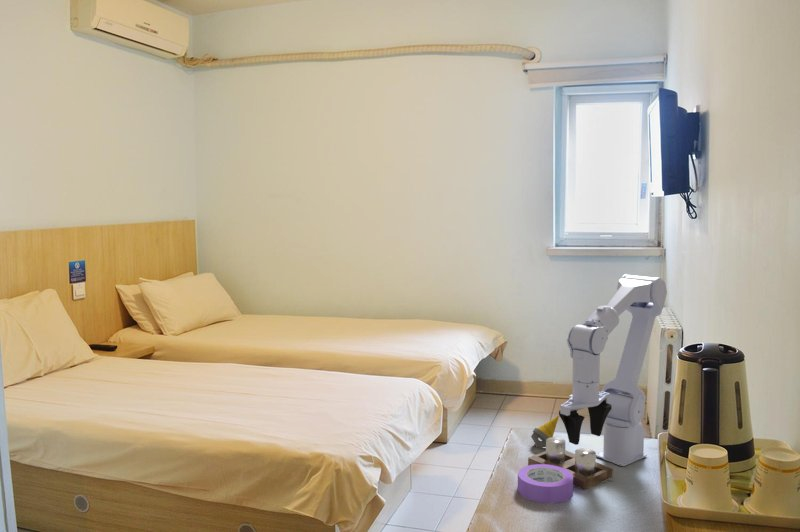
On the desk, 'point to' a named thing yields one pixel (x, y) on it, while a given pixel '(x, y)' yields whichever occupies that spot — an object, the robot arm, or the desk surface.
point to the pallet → (569, 464)
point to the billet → (585, 461)
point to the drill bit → (544, 432)
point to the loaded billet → (555, 450)
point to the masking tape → (545, 483)
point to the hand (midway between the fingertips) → (584, 438)
